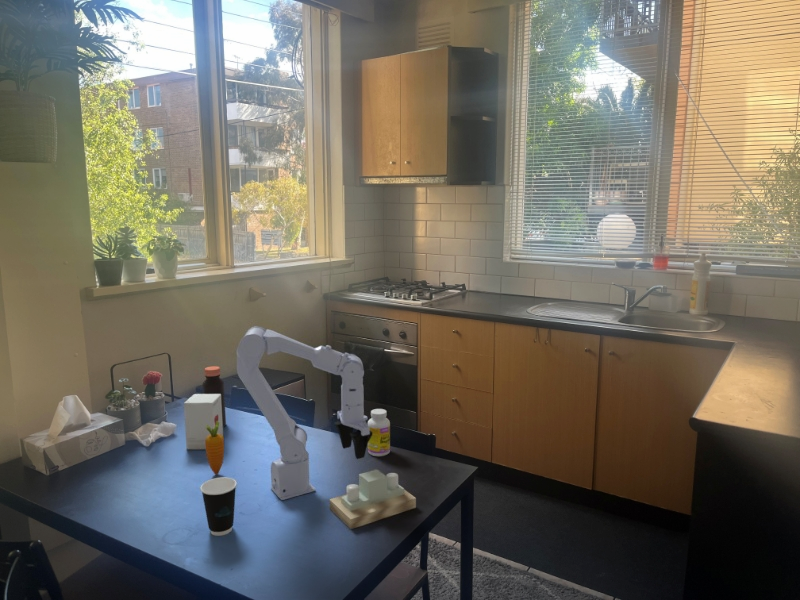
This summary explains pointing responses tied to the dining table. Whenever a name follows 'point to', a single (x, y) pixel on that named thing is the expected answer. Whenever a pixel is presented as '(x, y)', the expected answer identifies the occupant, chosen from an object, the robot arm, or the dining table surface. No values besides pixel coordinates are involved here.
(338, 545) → the dining table surface
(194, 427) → the supplement box
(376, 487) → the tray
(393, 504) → the shelf board
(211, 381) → the vinegar
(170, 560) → the dining table surface
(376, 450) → the supplement bottle
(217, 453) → the carrot
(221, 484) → the dixie cup
